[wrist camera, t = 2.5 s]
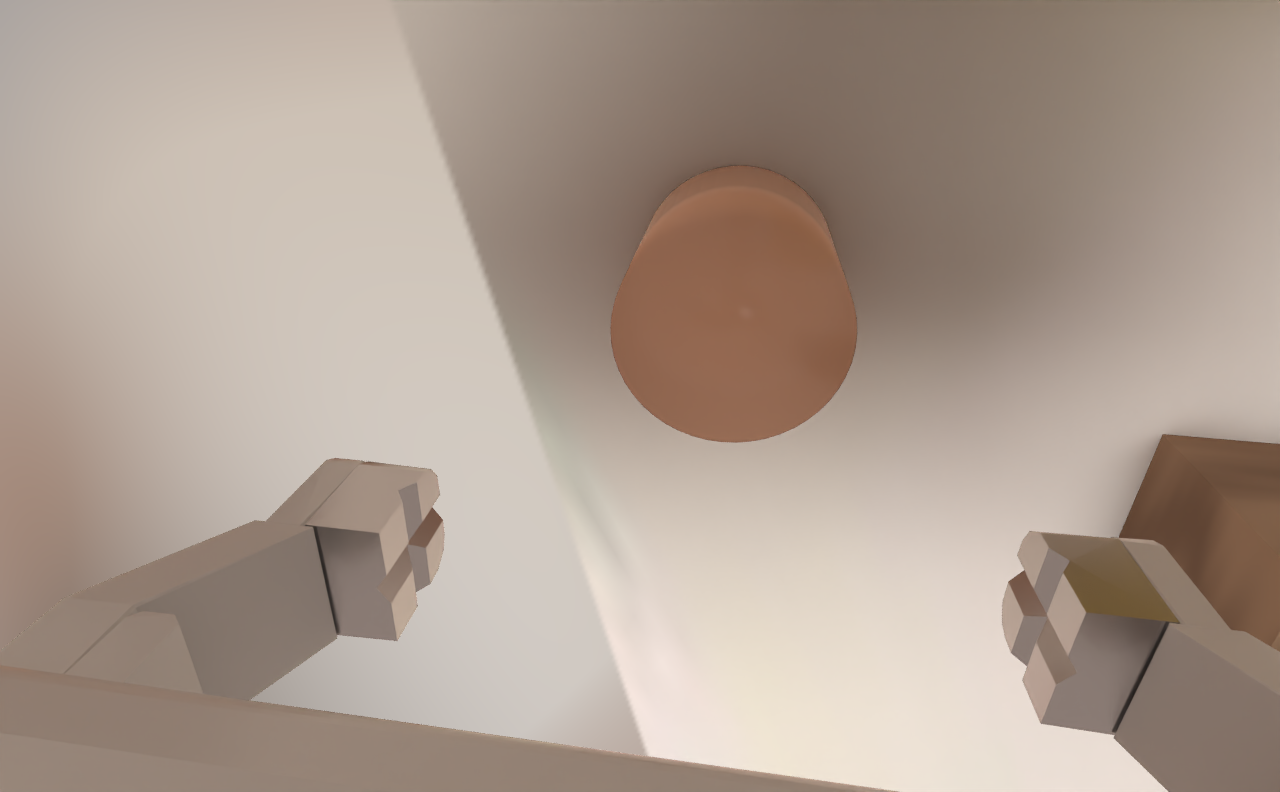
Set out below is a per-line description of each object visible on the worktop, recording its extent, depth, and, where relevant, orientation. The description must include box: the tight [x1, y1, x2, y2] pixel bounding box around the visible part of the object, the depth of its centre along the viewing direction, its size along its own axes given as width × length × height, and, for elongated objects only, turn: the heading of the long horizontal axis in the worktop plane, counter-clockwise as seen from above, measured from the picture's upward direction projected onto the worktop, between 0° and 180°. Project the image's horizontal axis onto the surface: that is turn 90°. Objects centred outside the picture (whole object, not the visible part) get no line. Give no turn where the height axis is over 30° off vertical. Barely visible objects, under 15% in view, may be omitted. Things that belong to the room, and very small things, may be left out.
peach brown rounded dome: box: [611, 166, 857, 442], centre depth 17 cm, size 5×5×5 cm
